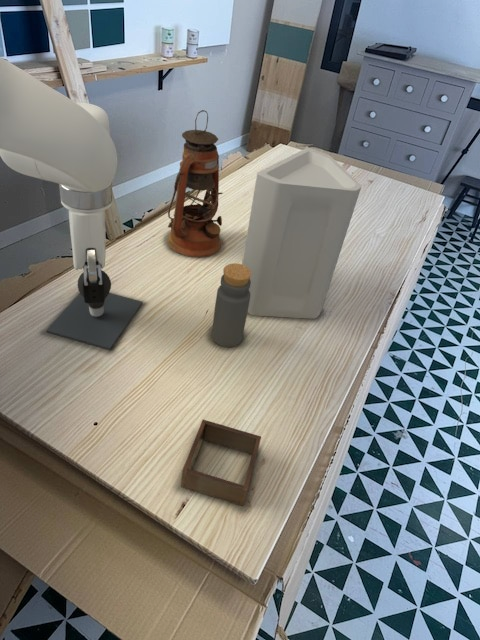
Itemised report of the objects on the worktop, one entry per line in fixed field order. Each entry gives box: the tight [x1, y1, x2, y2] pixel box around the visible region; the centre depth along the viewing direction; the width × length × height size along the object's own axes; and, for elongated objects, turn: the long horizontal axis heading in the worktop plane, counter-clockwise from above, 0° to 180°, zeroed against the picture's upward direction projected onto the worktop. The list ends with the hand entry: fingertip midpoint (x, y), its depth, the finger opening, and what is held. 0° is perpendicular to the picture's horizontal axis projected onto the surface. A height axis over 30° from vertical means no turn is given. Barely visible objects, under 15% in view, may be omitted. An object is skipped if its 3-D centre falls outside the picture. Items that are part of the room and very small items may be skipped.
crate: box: [180, 419, 262, 507], centre depth 65 cm, size 9×9×4 cm
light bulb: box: [77, 269, 112, 317], centre depth 83 cm, size 6×6×10 cm
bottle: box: [211, 262, 251, 348], centre depth 82 cm, size 6×6×15 cm
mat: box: [45, 292, 144, 351], centre depth 86 cm, size 14×12×1 cm
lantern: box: [166, 109, 223, 258], centre depth 101 cm, size 17×13×30 cm
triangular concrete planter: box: [241, 147, 363, 320], centre depth 89 cm, size 19×15×28 cm
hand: (93, 284), depth 81 cm, fingers open, 9 cm apart
